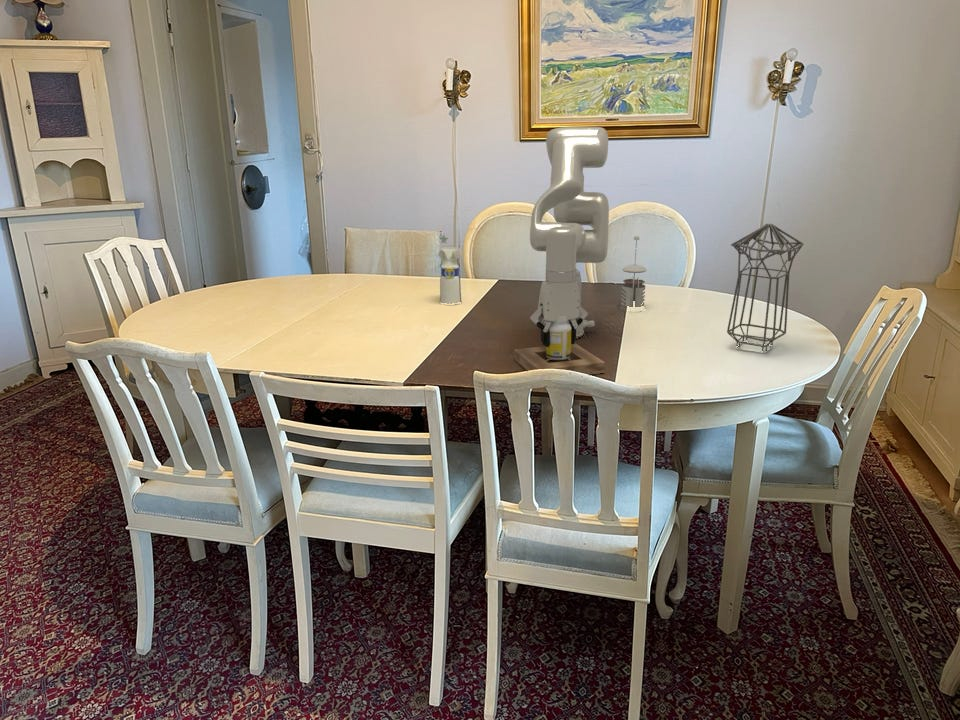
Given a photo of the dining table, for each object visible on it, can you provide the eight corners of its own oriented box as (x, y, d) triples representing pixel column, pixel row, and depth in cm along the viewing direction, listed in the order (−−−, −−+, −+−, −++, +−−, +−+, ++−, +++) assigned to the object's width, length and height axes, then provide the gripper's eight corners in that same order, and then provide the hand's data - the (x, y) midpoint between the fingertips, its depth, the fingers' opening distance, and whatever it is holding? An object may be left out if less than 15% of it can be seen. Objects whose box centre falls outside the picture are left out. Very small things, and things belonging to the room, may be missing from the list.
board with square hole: (574, 353, 200) (574, 342, 199) (604, 373, 184) (604, 362, 183) (513, 360, 195) (513, 349, 194) (539, 381, 179) (539, 370, 178)
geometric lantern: (737, 337, 214) (750, 218, 203) (792, 347, 204) (809, 223, 193) (716, 349, 202) (729, 224, 191) (773, 360, 193) (790, 229, 182)
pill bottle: (568, 353, 192) (570, 311, 188) (572, 360, 186) (573, 317, 182) (544, 353, 192) (545, 311, 188) (547, 361, 185) (548, 317, 182)
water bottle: (462, 305, 253) (461, 234, 245) (438, 305, 253) (436, 234, 245) (463, 300, 261) (462, 230, 253) (440, 300, 261) (438, 231, 253)
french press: (645, 305, 251) (649, 233, 244) (649, 314, 240) (654, 239, 233) (616, 305, 252) (620, 233, 244) (619, 313, 241) (623, 238, 233)
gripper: (584, 271, 188) (582, 337, 193) (523, 276, 183) (522, 343, 188) (598, 277, 181) (594, 345, 187) (534, 281, 176) (533, 351, 182)
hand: (558, 343), depth 187 cm, fingers closed on pill bottle, 6 cm apart
